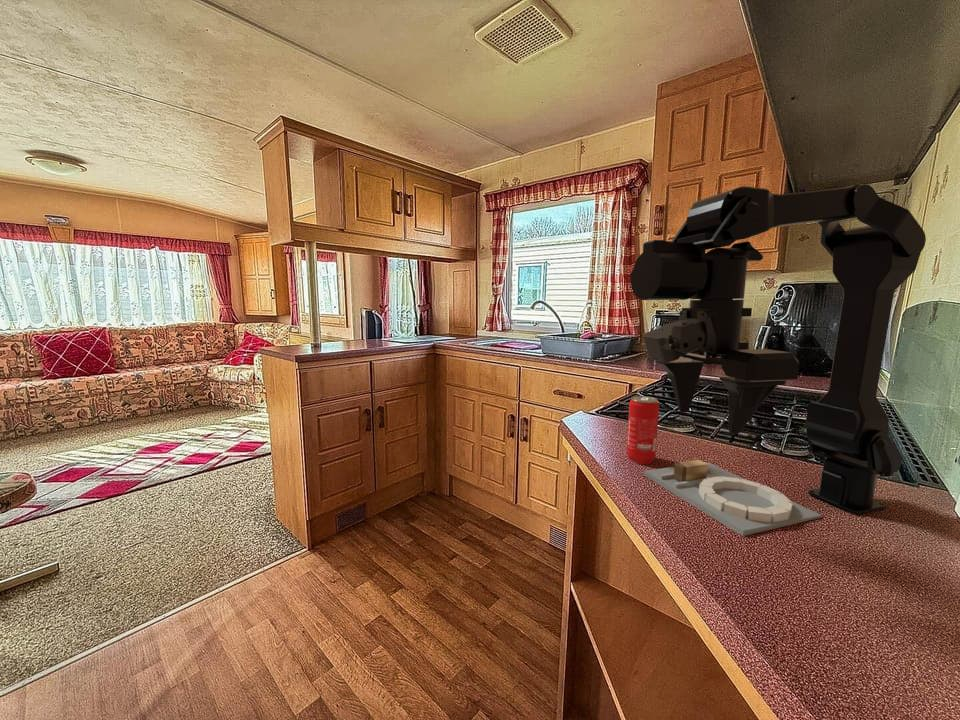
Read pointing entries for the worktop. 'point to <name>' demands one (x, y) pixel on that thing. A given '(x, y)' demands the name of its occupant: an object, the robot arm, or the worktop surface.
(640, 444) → the beverage can
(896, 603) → the worktop surface
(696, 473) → the bar
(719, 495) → the dock board
